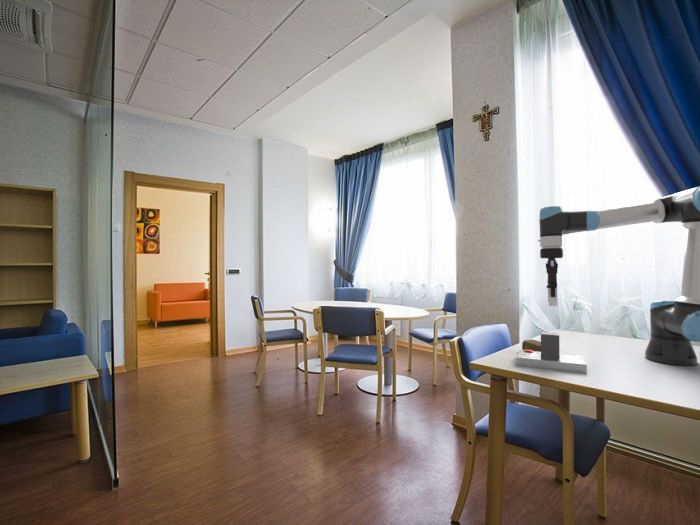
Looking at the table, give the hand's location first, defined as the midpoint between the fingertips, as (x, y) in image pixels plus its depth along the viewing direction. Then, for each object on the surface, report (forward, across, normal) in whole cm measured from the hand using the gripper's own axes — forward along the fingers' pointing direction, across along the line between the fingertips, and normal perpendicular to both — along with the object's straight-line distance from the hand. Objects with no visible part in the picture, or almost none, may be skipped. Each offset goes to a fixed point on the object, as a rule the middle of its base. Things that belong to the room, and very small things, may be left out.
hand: (552, 304), depth 137 cm
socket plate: (+23, +1, -1) cm, 23 cm away
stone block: (+23, -15, -6) cm, 28 cm away
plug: (+22, +1, -1) cm, 22 cm away
